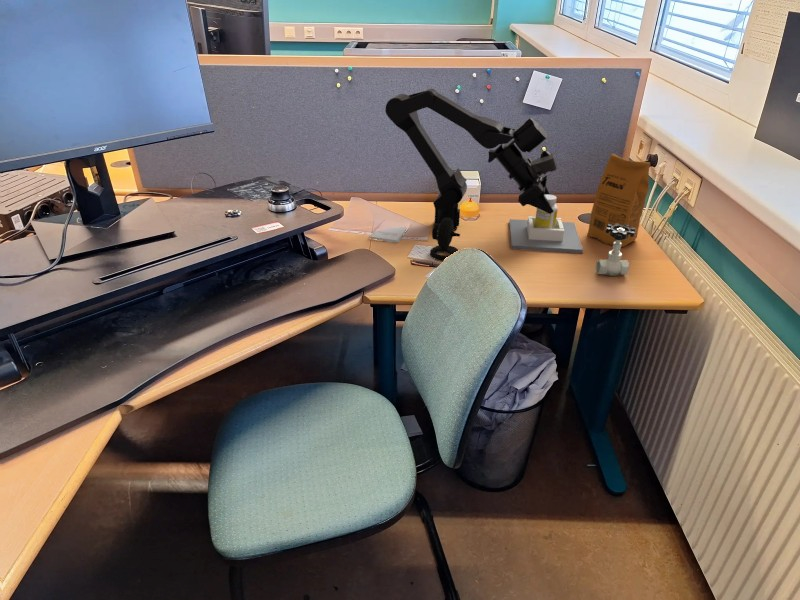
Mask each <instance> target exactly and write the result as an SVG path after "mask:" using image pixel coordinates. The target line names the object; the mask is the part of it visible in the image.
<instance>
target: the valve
mask: <svg viewBox="0 0 800 600" xmlns="http://www.w3.org/2000/svg"><path fill="white" fill-rule="evenodd" d="M616 228H617V230H614V229H616ZM624 230H627V232H624ZM635 230H636V229H635V228H629V225H627V224H625V225H624V226H622V225H620V224H619V223H615V224H614V226H613V225H611V224H608V225H607V228H606V231H605V232H606V233H609V231H610V235H611V237H614V239H616V241H615V242H614V243H613V245H612V250H609V251H608V254H607V257H608V259H598V260H597V261H596V264H595V273H596V274H597V275H607V276H609V277H616V276H618V275H628V273H629V271H630V263H629V260H628V259H622V256H623V253H622V252H621V249H622V247H621V245H622V243H621V242H620V241H621V240H624V239H627V238H628V235H629V234H630V237H634V235H635Z"/></svg>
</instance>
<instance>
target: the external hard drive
mask: <svg viewBox="0 0 800 600" xmlns="http://www.w3.org/2000/svg"><path fill="white" fill-rule="evenodd" d="M406 229H407V228H406V226H405V227H399V228H390V229H386V230H381V231H375V230H374V231H375V232H374V231H373V232H372V233H371V235H370V236H369V237H368V239H369V238H371V239H377V240H383V241H382V242H386V241H388V242H387V243H391V242H395V243H394V244H399V243H398V242H400V241H401V240H402V239H401V238H403V237H404V236H403V234H404V233H405V231H406ZM405 234H406V233H405ZM402 236H403V237H402ZM400 239H401V240H400Z"/></svg>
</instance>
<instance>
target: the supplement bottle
mask: <svg viewBox="0 0 800 600" xmlns="http://www.w3.org/2000/svg"><path fill="white" fill-rule="evenodd" d="M545 197H546V198H547V200H548V202H549V203H550V205H551V207H552V209H553V213H551V214H549V213H547V212H545V211H543V210H541V209H538V208H536V212H535V217H536V218H535V226H534V228H551V229H555V224H556V218H558V217H557V215H558V211H559V208H558V205H557V204H556V203H557V196H556V195H554V194H551V195H548V194H546V195H545Z"/></svg>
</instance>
